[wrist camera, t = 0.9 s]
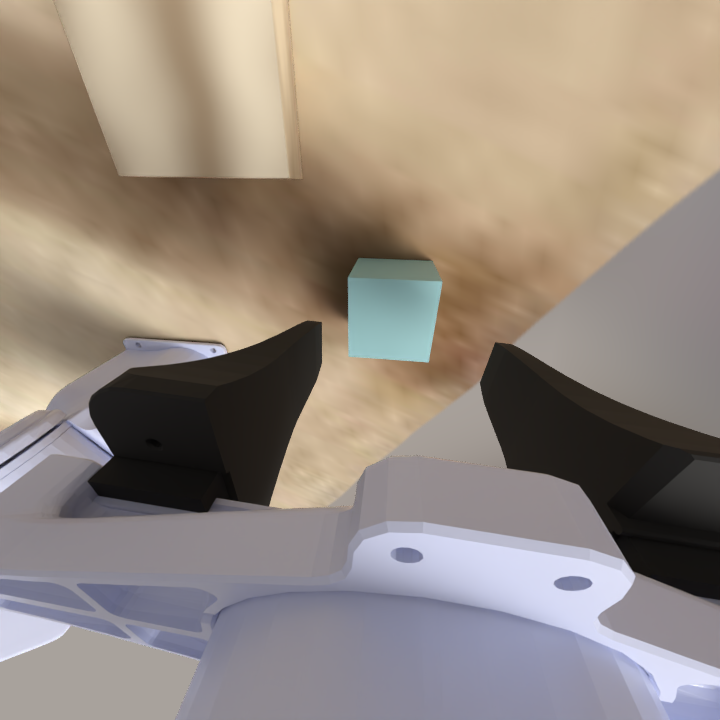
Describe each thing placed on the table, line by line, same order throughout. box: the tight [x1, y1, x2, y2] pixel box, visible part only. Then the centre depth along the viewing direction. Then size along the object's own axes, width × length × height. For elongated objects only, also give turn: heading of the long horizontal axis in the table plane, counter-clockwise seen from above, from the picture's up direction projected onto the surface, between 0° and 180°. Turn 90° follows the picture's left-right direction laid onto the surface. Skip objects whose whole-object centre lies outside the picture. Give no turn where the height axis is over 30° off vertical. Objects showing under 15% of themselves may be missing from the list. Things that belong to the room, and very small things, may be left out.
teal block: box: [348, 258, 442, 362], centre depth 18 cm, size 5×5×5 cm
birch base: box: [53, 0, 303, 179], centre depth 14 cm, size 10×10×2 cm
